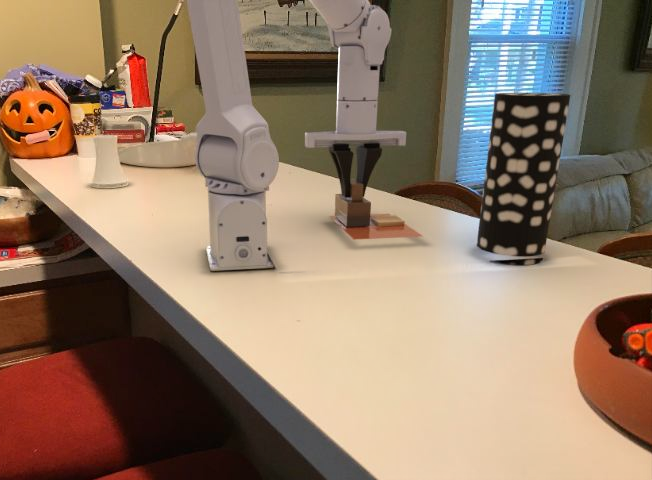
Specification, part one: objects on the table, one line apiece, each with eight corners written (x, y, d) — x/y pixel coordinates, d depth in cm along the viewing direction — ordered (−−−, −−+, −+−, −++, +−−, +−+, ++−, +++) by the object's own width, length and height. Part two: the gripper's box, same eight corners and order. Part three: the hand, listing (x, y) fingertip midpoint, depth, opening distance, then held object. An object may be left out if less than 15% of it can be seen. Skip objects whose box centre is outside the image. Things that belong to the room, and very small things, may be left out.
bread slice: (404, 225, 89) (404, 221, 89) (378, 226, 89) (378, 222, 89) (395, 219, 93) (395, 214, 93) (370, 220, 93) (370, 215, 92)
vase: (85, 184, 128) (79, 135, 124) (118, 180, 132) (113, 133, 129) (101, 189, 122) (95, 138, 119) (134, 185, 127) (130, 136, 123)
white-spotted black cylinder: (500, 267, 75) (524, 96, 67) (463, 249, 82) (481, 93, 75) (557, 262, 77) (587, 95, 69) (516, 244, 84) (538, 92, 77)
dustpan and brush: (190, 154, 170) (189, 119, 167) (254, 170, 145) (254, 129, 142) (111, 161, 158) (108, 124, 155) (166, 180, 133) (163, 135, 129)
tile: (422, 244, 84) (423, 236, 84) (353, 247, 83) (353, 239, 83) (388, 220, 97) (389, 213, 97) (328, 223, 96) (328, 215, 95)
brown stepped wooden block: (369, 226, 89) (372, 185, 87) (346, 227, 88) (348, 186, 86) (356, 215, 95) (358, 177, 93) (334, 216, 95) (335, 177, 93)
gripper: (396, 98, 90) (390, 189, 95) (301, 99, 88) (299, 192, 93) (414, 100, 84) (406, 198, 89) (311, 101, 82) (309, 201, 87)
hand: (352, 196), depth 90 cm, fingers closed on brown stepped wooden block, 2 cm apart
